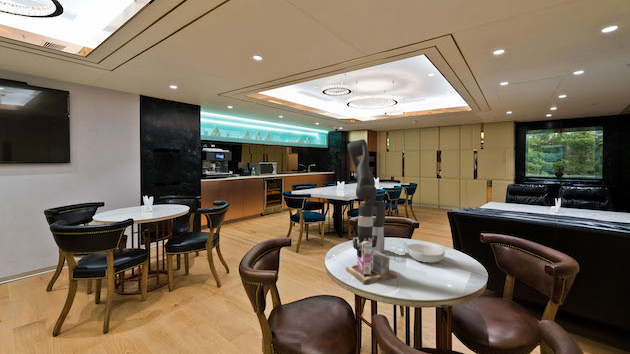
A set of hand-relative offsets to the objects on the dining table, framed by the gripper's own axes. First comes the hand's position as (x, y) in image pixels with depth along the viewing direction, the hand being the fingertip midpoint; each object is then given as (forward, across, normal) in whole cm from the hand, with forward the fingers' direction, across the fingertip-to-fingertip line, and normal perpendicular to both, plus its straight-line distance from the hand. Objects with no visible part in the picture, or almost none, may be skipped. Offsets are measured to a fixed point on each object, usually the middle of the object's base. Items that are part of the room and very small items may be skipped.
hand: (364, 256), depth 135 cm
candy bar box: (+8, 0, 0) cm, 8 cm away
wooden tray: (+10, -4, 0) cm, 11 cm away
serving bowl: (+10, -46, -4) cm, 47 cm away
